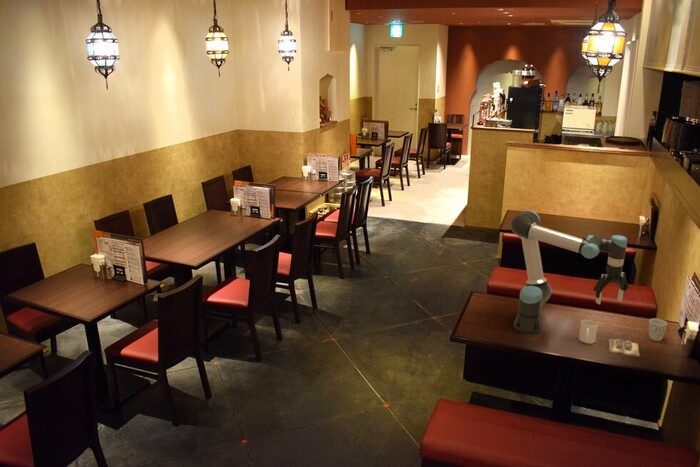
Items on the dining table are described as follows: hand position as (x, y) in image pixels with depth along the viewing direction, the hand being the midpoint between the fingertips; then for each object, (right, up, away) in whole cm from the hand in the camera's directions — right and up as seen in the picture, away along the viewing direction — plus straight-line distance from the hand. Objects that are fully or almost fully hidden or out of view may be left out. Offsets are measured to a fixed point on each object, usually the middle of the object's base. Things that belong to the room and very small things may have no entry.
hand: (608, 302), depth 299 cm
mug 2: (+29, -20, +7) cm, 36 cm away
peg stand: (+5, -24, -5) cm, 25 cm away
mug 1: (-11, -22, +2) cm, 24 cm away
